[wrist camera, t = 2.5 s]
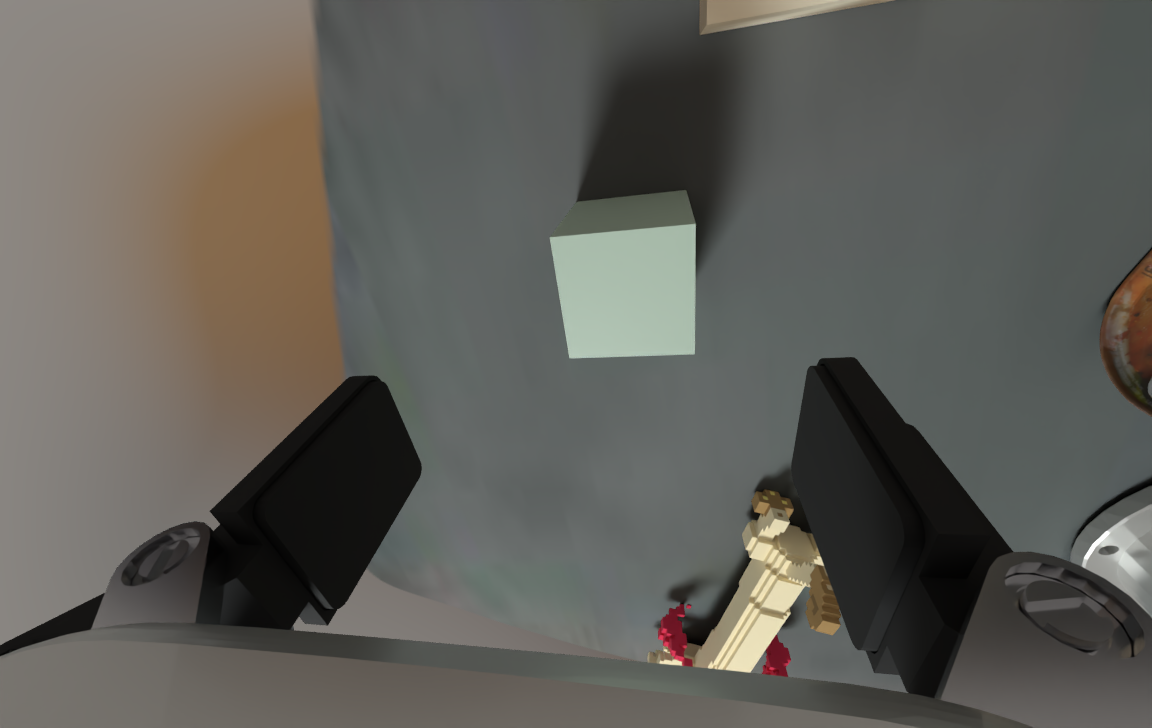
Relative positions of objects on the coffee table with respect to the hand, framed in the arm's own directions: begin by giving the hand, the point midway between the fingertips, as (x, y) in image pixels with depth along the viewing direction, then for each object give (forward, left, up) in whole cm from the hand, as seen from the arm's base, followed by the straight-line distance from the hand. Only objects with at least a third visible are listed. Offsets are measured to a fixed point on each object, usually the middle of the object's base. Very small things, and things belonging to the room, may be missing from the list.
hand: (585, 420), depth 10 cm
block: (0, 0, -14) cm, 14 cm away
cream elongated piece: (-6, +29, -14) cm, 33 cm away
